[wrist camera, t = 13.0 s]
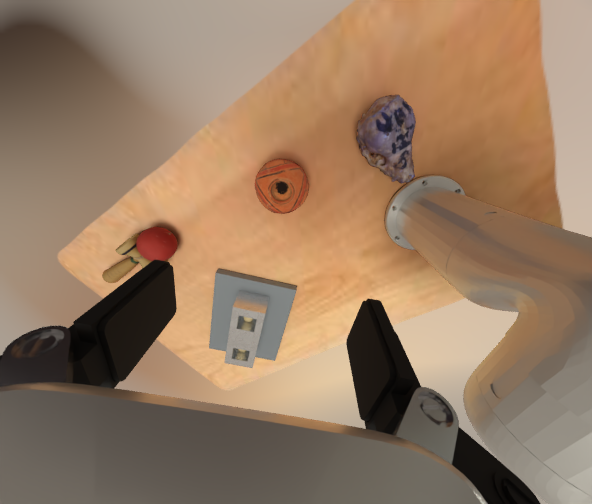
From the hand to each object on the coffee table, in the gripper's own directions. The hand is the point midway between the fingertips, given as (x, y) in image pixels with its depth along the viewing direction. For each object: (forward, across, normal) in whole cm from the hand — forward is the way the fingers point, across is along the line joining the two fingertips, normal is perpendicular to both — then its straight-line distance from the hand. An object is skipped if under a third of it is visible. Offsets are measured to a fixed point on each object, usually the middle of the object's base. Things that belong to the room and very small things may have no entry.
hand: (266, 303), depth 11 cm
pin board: (+28, +5, +30) cm, 41 cm away
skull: (+29, -12, -9) cm, 32 cm away
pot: (+28, +2, 0) cm, 28 cm away
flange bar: (+26, +5, +29) cm, 40 cm away
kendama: (+28, +26, +18) cm, 42 cm away
